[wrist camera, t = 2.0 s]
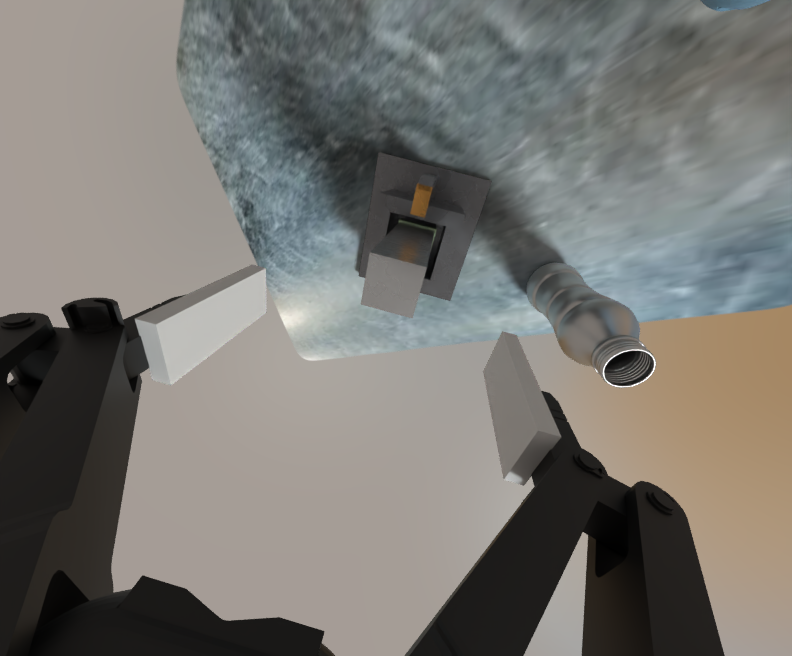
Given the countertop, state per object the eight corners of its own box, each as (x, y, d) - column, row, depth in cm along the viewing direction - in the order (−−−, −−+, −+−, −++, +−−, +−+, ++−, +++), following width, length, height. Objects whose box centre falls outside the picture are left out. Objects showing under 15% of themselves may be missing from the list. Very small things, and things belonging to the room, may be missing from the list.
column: (405, 213, 36) (368, 249, 19) (438, 221, 36) (429, 265, 19) (397, 248, 39) (357, 309, 21) (428, 256, 38) (412, 324, 21)
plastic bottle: (518, 303, 41) (570, 398, 24) (528, 257, 38) (596, 328, 20) (566, 305, 40) (656, 406, 23) (580, 258, 37) (698, 333, 19)
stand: (380, 152, 35) (351, 143, 24) (490, 180, 34) (509, 184, 24) (360, 274, 43) (332, 306, 32) (450, 298, 42) (450, 338, 32)
